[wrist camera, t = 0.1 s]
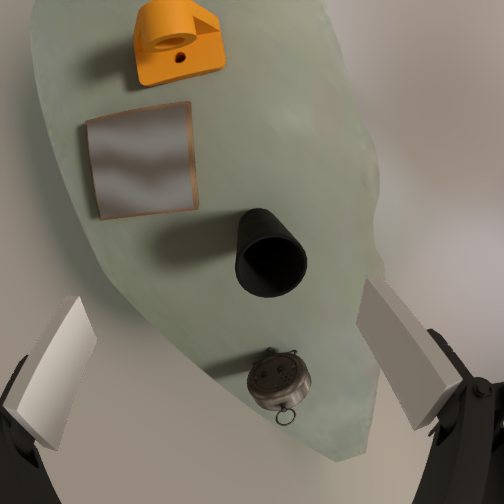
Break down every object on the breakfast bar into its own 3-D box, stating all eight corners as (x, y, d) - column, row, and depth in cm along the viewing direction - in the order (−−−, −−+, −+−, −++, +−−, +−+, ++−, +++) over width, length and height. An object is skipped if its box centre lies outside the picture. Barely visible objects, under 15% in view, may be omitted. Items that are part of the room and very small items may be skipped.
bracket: (146, 89, 30) (113, 77, 20) (138, 43, 27) (106, 16, 16) (226, 70, 30) (228, 46, 20) (218, 23, 27) (216, -15, 16)
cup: (279, 195, 39) (302, 226, 28) (288, 244, 42) (311, 288, 31) (225, 208, 39) (226, 244, 28) (238, 256, 42) (244, 304, 31)
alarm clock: (250, 370, 54) (260, 439, 39) (241, 354, 51) (248, 427, 37) (302, 353, 53) (324, 420, 38) (296, 335, 50) (319, 406, 36)
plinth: (92, 120, 31) (83, 121, 28) (190, 102, 32) (188, 100, 29) (106, 215, 37) (98, 222, 34) (199, 204, 38) (197, 211, 35)
